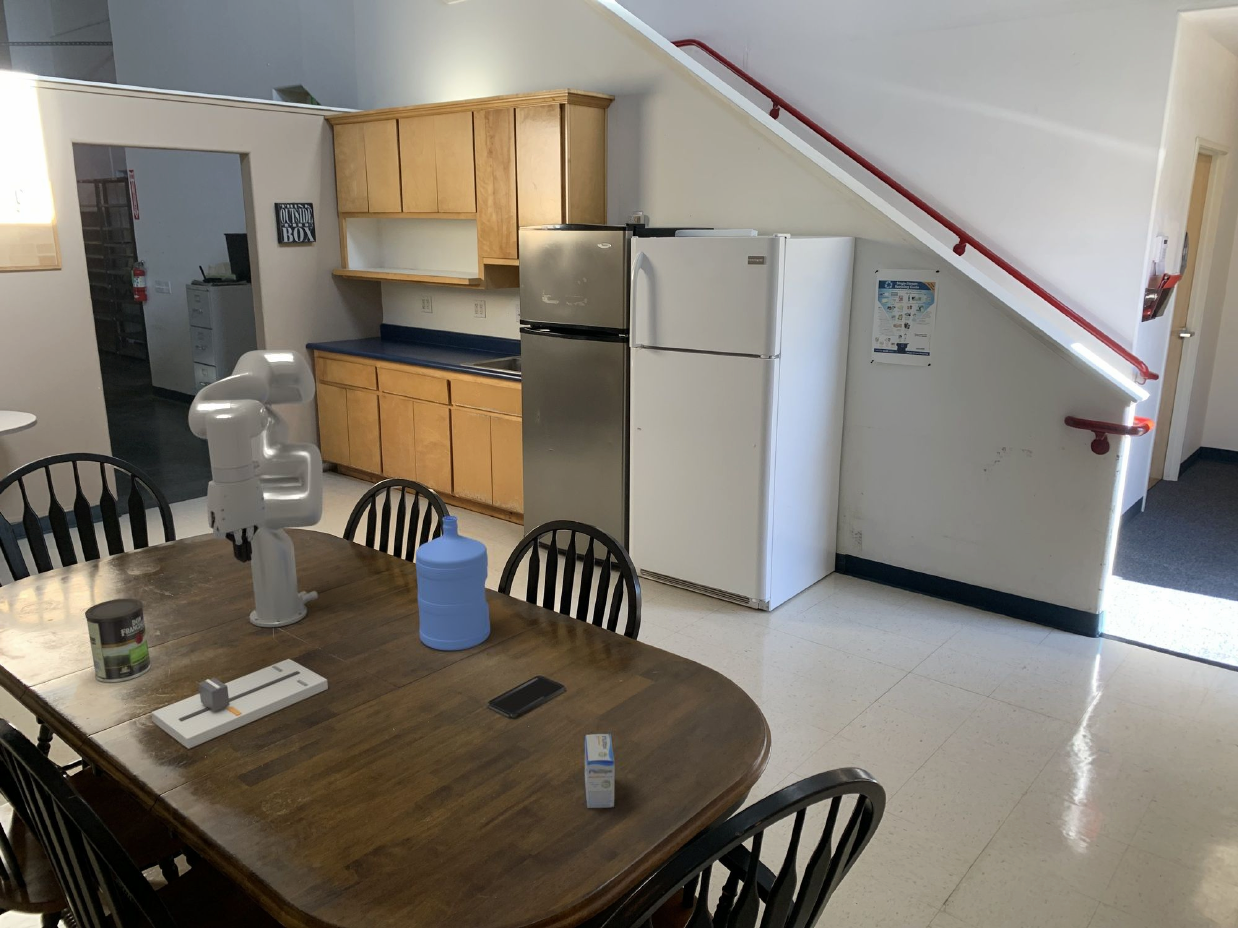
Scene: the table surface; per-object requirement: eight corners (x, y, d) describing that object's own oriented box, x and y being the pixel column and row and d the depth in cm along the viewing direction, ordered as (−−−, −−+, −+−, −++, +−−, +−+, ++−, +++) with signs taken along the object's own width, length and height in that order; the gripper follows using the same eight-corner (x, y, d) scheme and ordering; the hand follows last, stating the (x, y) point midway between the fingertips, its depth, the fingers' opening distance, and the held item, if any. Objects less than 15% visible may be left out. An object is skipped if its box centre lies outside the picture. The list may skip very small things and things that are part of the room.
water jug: (458, 658, 193) (452, 534, 186) (405, 641, 201) (397, 521, 194) (504, 631, 206) (501, 514, 199) (452, 616, 214) (447, 503, 207)
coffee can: (162, 661, 191) (153, 600, 188) (127, 685, 182) (117, 620, 178) (119, 657, 193) (110, 595, 190) (83, 680, 184) (72, 616, 180)
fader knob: (216, 696, 172) (214, 676, 171) (229, 704, 169) (227, 684, 168) (201, 702, 170) (198, 682, 169) (214, 711, 167) (211, 690, 166)
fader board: (289, 667, 189) (288, 657, 188) (327, 688, 180) (327, 678, 180) (152, 721, 168) (151, 711, 168) (188, 748, 160) (186, 737, 159)
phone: (484, 703, 174) (539, 674, 185) (484, 708, 174) (539, 679, 185) (513, 717, 169) (567, 686, 180) (513, 722, 169) (567, 691, 180)
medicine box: (584, 779, 151) (584, 733, 149) (611, 778, 151) (611, 732, 149) (586, 809, 143) (586, 761, 141) (614, 807, 144) (615, 759, 142)
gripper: (258, 460, 183) (268, 544, 188) (185, 477, 172) (198, 566, 177) (279, 467, 178) (288, 553, 184) (205, 486, 167) (217, 576, 173)
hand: (243, 559), depth 180 cm, fingers closed
